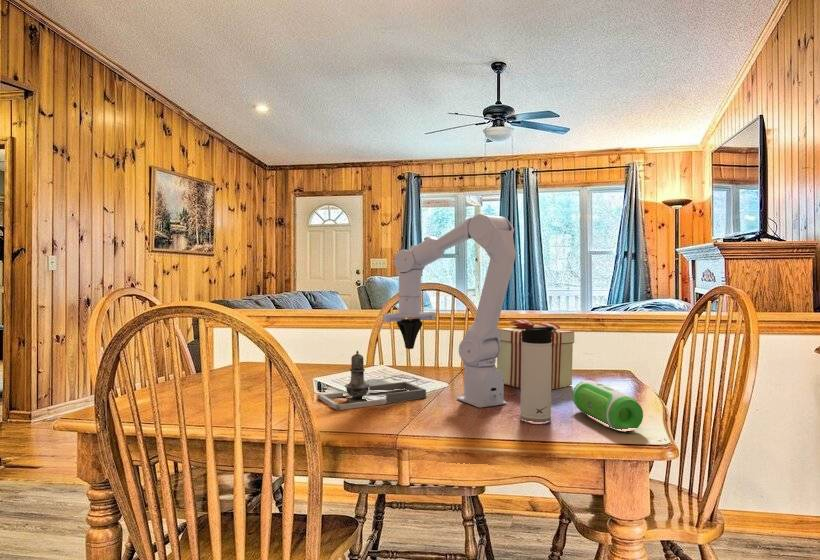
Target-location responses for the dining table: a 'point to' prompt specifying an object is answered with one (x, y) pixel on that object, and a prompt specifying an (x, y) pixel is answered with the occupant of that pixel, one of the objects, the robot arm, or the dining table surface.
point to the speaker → (607, 405)
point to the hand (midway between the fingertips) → (409, 348)
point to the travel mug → (536, 374)
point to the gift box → (512, 354)
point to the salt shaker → (357, 380)
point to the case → (412, 394)
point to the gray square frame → (350, 405)
